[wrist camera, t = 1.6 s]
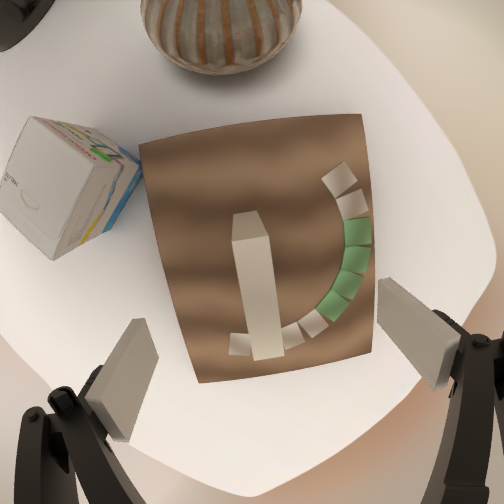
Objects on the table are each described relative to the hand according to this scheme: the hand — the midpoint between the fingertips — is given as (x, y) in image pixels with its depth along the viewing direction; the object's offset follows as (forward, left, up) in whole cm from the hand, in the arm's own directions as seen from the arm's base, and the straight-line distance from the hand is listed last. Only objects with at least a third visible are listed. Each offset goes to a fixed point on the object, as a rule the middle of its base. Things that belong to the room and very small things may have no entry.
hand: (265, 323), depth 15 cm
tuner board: (+2, +2, -16) cm, 16 cm away
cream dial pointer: (+4, 0, -13) cm, 14 cm away
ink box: (-10, -15, -16) cm, 24 cm away
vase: (-23, +1, -16) cm, 28 cm away
